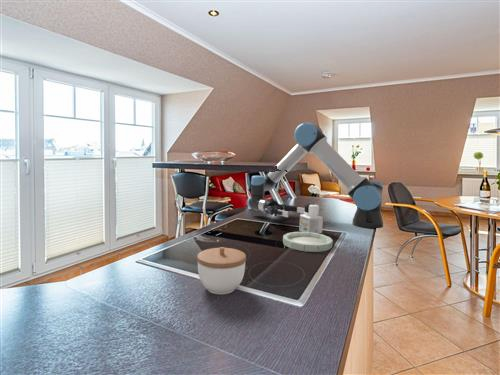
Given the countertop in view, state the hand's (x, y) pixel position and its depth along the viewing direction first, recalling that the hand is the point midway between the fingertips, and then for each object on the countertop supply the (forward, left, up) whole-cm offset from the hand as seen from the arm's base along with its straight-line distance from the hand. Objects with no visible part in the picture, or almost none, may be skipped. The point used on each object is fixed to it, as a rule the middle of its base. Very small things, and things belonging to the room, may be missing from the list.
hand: (297, 213), depth 148 cm
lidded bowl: (+59, +46, -8) cm, 76 cm away
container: (-2, +8, -8) cm, 11 cm away
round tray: (+12, +23, -7) cm, 27 cm away
